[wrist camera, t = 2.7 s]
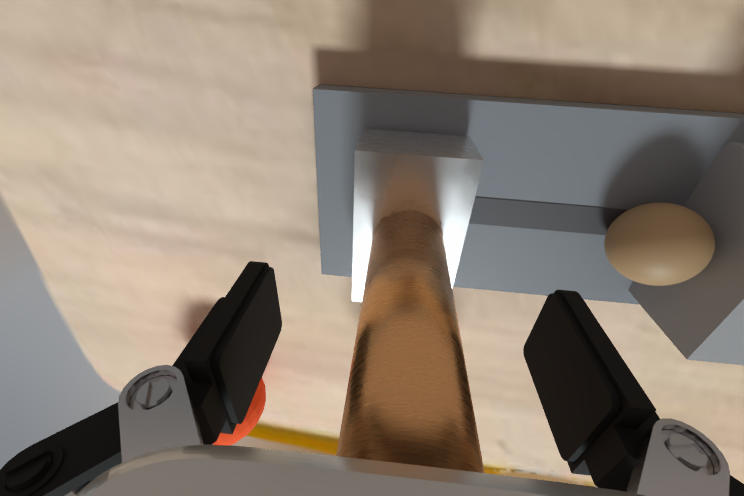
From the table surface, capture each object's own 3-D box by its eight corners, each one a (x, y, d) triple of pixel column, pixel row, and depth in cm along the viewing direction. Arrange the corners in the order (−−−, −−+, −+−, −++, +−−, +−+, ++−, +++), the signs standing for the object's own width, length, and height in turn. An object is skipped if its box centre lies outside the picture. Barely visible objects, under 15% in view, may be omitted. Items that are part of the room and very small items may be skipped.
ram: (469, 136, 15) (752, 607, 3) (441, 270, 20) (499, 679, 7) (364, 128, 15) (188, 531, 3) (359, 262, 20) (281, 646, 8)
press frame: (780, 116, 15) (984, 162, 10) (654, 291, 21) (737, 378, 16) (319, 84, 16) (277, 111, 11) (326, 260, 22) (301, 332, 17)
